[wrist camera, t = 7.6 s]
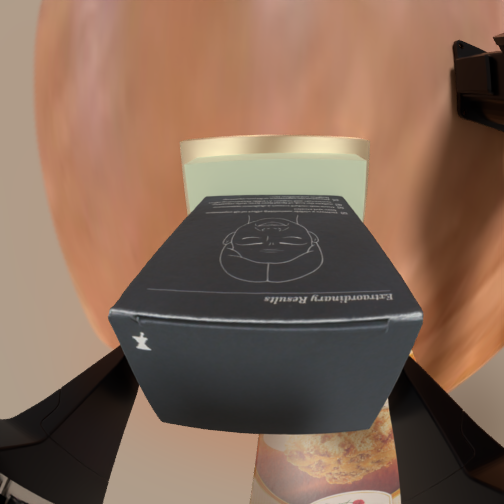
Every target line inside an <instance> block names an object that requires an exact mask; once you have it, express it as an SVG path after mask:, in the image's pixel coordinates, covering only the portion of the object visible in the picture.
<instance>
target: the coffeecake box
mask: <svg viewBox="0 0 504 504" xmlns="http://www.w3.org/2000/svg"><path fill="white" fill-rule="evenodd" d="M409 355H410V356H411V357H412V358H413V359H414V360H415V357H414V354H413V351H412V349H411V352H410V354H409ZM415 361H416V360H415ZM250 504H401V496H400V484H399V474H398V466H397V458H396V450H395V443H394V437H393V430H392V424H391V419H390V413H389V405H388V398H387V400H386V402H385V404H384V406H383V408H382V409H381V411H380V413H379V415H378V416H377V418H376V419H375V421H374V423H373V424H372V426H371V427H370V429H367V430H360V431H350V432H339V433H326V434H304V435H286V434H282V435H279V434H259V438H258V446H257V455H256V462H255V469H254V476H253V484H252V491H251V498H250Z"/></svg>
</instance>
